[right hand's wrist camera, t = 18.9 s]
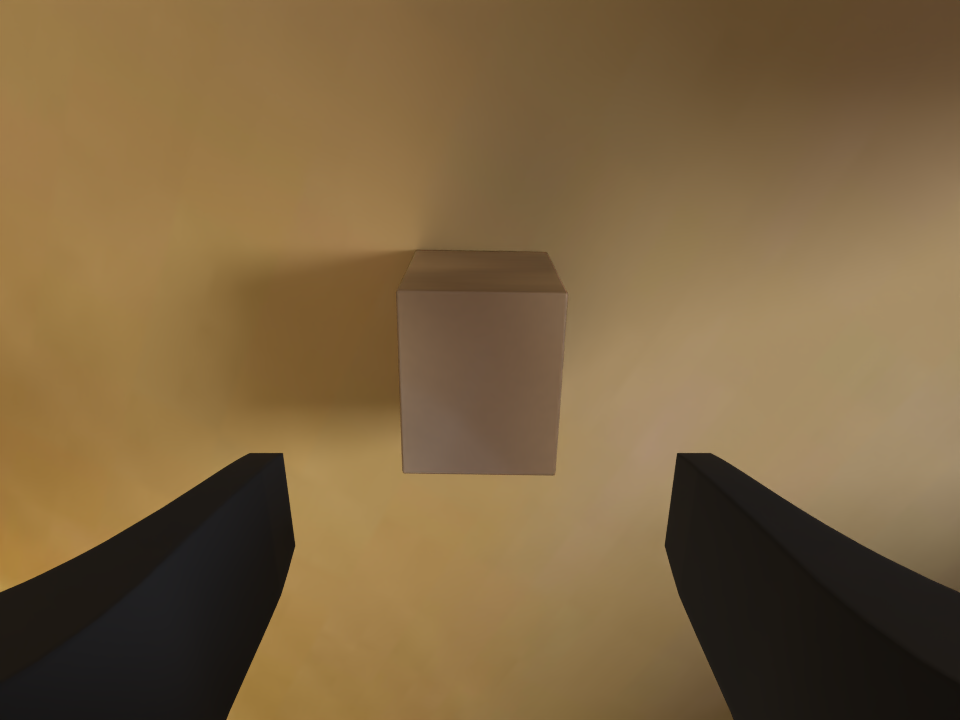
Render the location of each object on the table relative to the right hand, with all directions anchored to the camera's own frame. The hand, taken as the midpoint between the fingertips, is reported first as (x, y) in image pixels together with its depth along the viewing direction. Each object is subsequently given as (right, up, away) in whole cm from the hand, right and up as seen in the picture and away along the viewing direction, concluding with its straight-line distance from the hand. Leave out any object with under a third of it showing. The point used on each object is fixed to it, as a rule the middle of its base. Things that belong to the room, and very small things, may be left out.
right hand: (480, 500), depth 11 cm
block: (0, +4, +9) cm, 9 cm away
